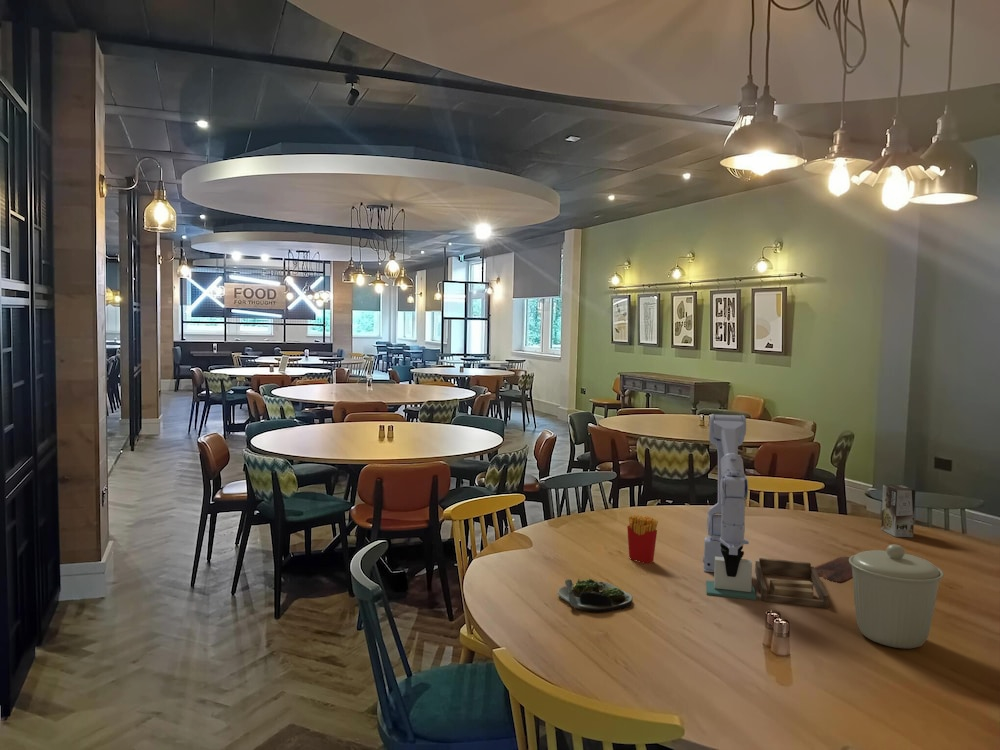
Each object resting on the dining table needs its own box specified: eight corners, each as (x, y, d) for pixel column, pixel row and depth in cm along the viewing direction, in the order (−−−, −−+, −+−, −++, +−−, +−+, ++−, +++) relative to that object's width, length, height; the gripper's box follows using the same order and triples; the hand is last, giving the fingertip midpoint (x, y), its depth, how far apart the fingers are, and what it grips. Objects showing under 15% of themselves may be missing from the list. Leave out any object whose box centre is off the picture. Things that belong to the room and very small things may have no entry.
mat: (706, 594, 178) (706, 592, 178) (706, 582, 187) (706, 580, 187) (756, 600, 175) (756, 597, 175) (753, 587, 183) (753, 585, 183)
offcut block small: (774, 600, 176) (775, 588, 175) (773, 596, 178) (773, 585, 178) (813, 604, 173) (813, 592, 173) (811, 600, 176) (811, 588, 176)
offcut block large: (772, 596, 178) (773, 582, 178) (769, 592, 181) (770, 579, 180) (812, 597, 178) (813, 584, 177) (809, 594, 180) (809, 580, 180)
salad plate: (539, 590, 180) (540, 573, 180) (597, 581, 188) (598, 564, 187) (580, 619, 162) (580, 599, 162) (641, 607, 170) (642, 588, 170)
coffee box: (914, 537, 232) (916, 489, 231) (894, 537, 232) (897, 489, 231) (898, 529, 241) (901, 483, 240) (880, 529, 241) (882, 483, 240)
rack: (762, 600, 174) (762, 585, 174) (755, 571, 196) (755, 557, 196) (828, 608, 170) (828, 592, 170) (813, 577, 192) (814, 563, 192)
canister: (939, 665, 141) (945, 564, 140) (841, 643, 151) (845, 548, 149) (939, 633, 156) (944, 541, 155) (849, 615, 166) (853, 528, 165)
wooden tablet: (842, 551, 212) (877, 556, 205) (842, 559, 212) (877, 563, 205) (803, 571, 195) (840, 577, 187) (804, 579, 195) (841, 585, 187)
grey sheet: (714, 588, 180) (715, 559, 180) (714, 584, 183) (715, 556, 183) (751, 592, 178) (752, 563, 177) (750, 588, 181) (751, 559, 180)
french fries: (624, 558, 206) (625, 515, 205) (631, 555, 209) (632, 512, 208) (652, 565, 200) (653, 521, 199) (659, 561, 203) (660, 518, 202)
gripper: (751, 531, 172) (749, 585, 172) (747, 516, 186) (745, 566, 186) (721, 529, 174) (719, 582, 174) (719, 514, 187) (717, 564, 188)
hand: (731, 574), depth 180 cm, fingers closed on grey sheet, 3 cm apart
